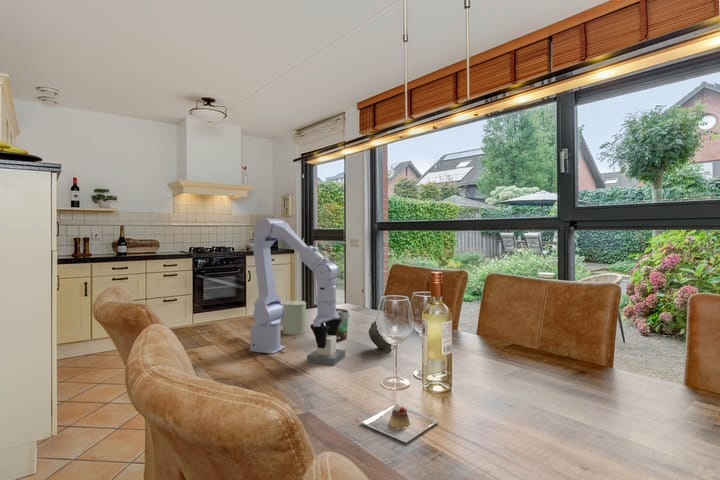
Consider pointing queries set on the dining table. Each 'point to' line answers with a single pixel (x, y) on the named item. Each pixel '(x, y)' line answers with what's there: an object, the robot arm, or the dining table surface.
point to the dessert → (397, 419)
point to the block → (328, 346)
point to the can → (294, 317)
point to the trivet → (326, 357)
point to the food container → (342, 325)
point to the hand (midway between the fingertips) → (326, 344)
